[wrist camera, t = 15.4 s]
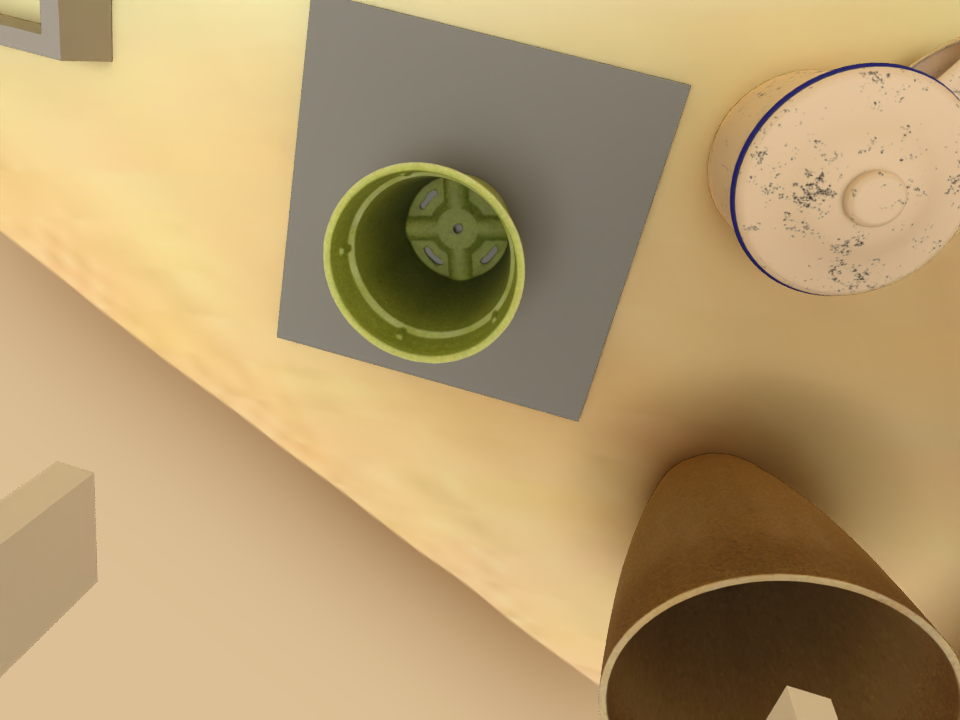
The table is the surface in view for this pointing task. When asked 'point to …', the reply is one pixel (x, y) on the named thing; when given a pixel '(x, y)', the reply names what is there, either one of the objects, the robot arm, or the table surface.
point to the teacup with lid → (843, 172)
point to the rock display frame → (63, 31)
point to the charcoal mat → (496, 160)
